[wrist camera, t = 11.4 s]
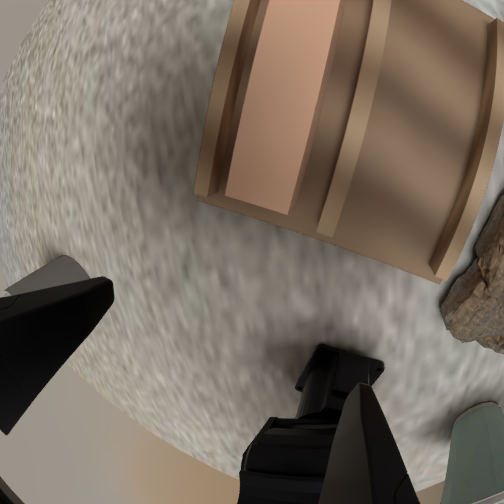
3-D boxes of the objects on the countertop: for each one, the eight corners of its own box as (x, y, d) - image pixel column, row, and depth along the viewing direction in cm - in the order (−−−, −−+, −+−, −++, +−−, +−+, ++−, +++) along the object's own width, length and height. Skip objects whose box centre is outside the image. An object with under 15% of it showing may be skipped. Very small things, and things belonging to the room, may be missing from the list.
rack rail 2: (440, 269, 15) (446, 281, 14) (429, 264, 16) (434, 276, 14) (499, 32, 7) (508, 26, 6) (487, 24, 7) (496, 17, 6)
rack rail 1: (218, 192, 19) (206, 197, 17) (205, 188, 19) (193, 193, 17) (272, -40, 10) (265, -51, 9) (258, -40, 10) (251, -50, 9)
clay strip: (297, 202, 17) (287, 215, 14) (243, 185, 18) (224, 195, 15) (350, -20, 10) (348, -43, 7) (295, -28, 10) (284, -51, 8)
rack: (436, 277, 17) (439, 284, 16) (203, 197, 20) (196, 200, 19) (498, 29, 7) (504, 25, 7) (259, -42, 11) (254, -48, 10)
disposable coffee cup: (498, 425, 19) (508, 517, 6) (429, 446, 23) (423, 544, 10) (519, 377, 16) (546, 489, 3) (437, 405, 21) (439, 533, 8)
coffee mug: (65, 306, 35) (20, 340, 26) (50, 247, 31) (-5, 279, 22) (126, 341, 32) (76, 391, 23) (112, 275, 27) (45, 324, 19)
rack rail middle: (333, 229, 17) (332, 237, 16) (318, 223, 17) (315, 232, 16) (392, -20, 9) (394, -31, 7) (377, -24, 9) (378, -36, 7)
